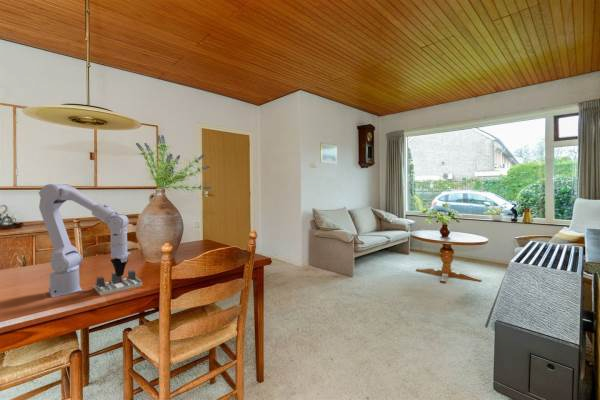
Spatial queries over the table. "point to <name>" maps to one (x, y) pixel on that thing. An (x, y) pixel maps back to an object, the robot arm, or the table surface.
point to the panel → (117, 284)
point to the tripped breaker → (116, 278)
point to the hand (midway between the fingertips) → (119, 275)
